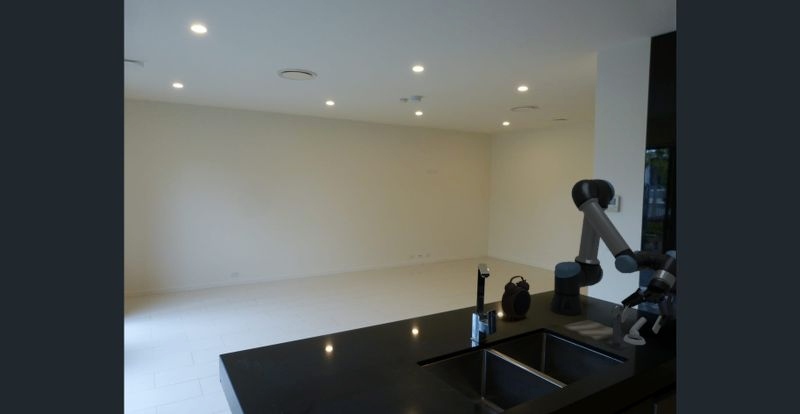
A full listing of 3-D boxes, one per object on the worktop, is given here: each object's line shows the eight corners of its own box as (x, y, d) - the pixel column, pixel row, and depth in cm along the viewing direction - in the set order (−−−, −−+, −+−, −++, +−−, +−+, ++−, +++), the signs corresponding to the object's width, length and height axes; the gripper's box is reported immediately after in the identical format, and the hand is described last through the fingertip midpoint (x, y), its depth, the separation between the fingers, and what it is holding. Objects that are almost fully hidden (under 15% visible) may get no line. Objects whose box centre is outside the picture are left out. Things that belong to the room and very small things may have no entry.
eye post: (605, 344, 159) (606, 304, 158) (613, 341, 161) (614, 302, 160) (619, 349, 154) (620, 308, 152) (627, 347, 156) (629, 306, 155)
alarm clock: (512, 324, 181) (512, 280, 180) (499, 319, 187) (500, 276, 186) (533, 318, 189) (534, 275, 188) (521, 313, 195) (521, 272, 194)
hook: (663, 332, 157) (651, 323, 156) (641, 354, 160) (630, 346, 158) (649, 321, 165) (638, 313, 163) (629, 343, 167) (618, 335, 165)
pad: (563, 327, 177) (563, 325, 177) (588, 321, 184) (588, 319, 184) (595, 340, 162) (595, 338, 162) (621, 333, 169) (621, 331, 169)
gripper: (697, 296, 157) (673, 342, 151) (635, 282, 179) (612, 321, 173) (690, 285, 154) (665, 330, 148) (628, 272, 176) (604, 311, 171)
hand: (637, 325), depth 161 cm, fingers open, 13 cm apart
